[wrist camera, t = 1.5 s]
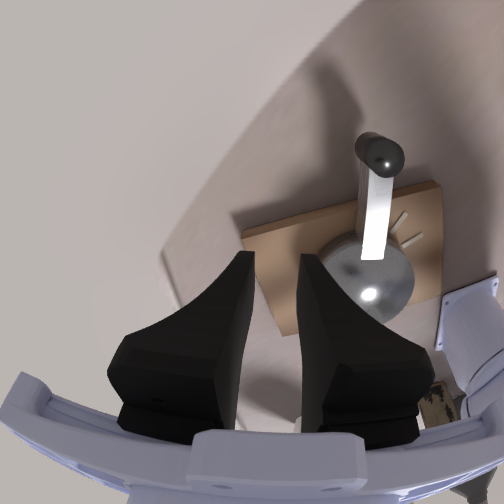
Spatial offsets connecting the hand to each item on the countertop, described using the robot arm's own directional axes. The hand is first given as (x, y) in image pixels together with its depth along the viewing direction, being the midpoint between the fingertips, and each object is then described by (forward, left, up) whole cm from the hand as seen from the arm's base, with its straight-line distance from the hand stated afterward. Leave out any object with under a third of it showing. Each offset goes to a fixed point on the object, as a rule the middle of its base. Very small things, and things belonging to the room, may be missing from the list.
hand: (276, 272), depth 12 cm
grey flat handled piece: (-4, -5, -9) cm, 11 cm away
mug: (-38, -14, -11) cm, 42 cm away
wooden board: (-8, -4, -10) cm, 14 cm away
